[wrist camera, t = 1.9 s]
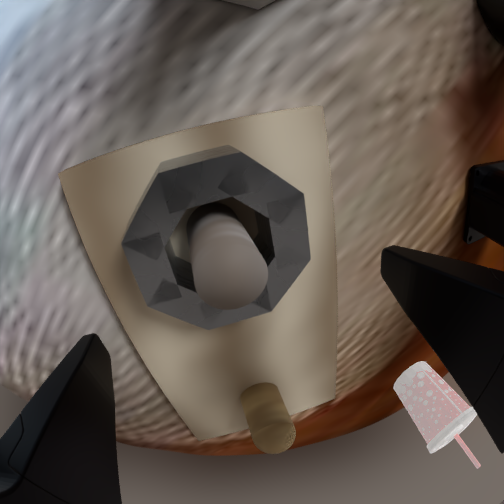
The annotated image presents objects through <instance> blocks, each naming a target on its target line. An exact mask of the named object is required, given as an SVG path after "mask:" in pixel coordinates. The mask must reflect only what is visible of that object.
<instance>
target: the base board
mask: <svg viewBox="0 0 504 504" xmlns="http://www.w3.org/2000/svg"><path fill="white" fill-rule="evenodd" d="M224 145H230V146H232V147H234V148H236V149H237V150H239V151H241V152H243V153H244V154H246V155H247V156H249V157H250V158H252V159H253V160H255V161H257V162H258V163H260V164H261V165H263V166H264V167H266V168H267V169H269V170H270V171H272V172H273V173H275V174H276V175H278V176H279V177H281V178H282V179H283V180H285V181H286V182H288V183H289V184H291V185H292V186H294V187H295V188H297V189H298V190H299V191H301V192H302V193H304V198H305V207H306V216H307V225H308V235H309V245H310V255H311V260H310V261H309V263H308V264H307V265H306V267H305V268H304V269H303V271H302V272H301V273H300V275H299V276H298V277H297V279H296V280H295V281H294V283H293V284H292V285H291V287H290V288H289V289H288V291H287V292H286V293H285V295H284V296H283V297H282V299H281V300H280V301H279V302H278V304H277V305H276V306H275V308H274V309H273V310H272V311H271V312H268V313H265V314H262V315H259V316H255V317H252V318H249V319H245V320H242V321H239V322H235V323H232V324H229V325H225V326H222V327H218V328H215V329H211V330H206V329H204V328H201V327H198V326H196V325H193V324H190V323H188V322H185V321H182V320H180V319H177V318H175V317H172V316H170V315H167V314H164V313H162V312H160V311H157V310H155V309H152V308H150V307H147V304H146V302H145V300H144V298H143V295H142V293H141V291H140V289H139V286H138V284H137V282H136V279H135V277H134V275H133V272H132V270H131V268H130V265H129V263H128V260H127V258H126V255H125V253H124V250H123V248H122V245H121V242H122V239H123V236H124V233H125V231H126V228H127V225H128V222H129V220H130V218H131V216H132V214H133V212H134V210H135V208H136V206H137V204H138V202H139V200H140V198H141V196H142V195H143V193H144V191H145V189H146V187H147V185H148V184H149V182H150V180H151V178H152V176H153V175H154V173H155V171H156V169H157V168H158V166H159V164H160V163H161V162H163V161H166V160H170V159H173V158H177V157H180V156H184V155H188V154H192V153H195V152H199V151H203V150H207V149H211V148H216V147H220V146H224ZM58 175H59V178H60V182H61V185H62V188H63V191H64V194H65V196H66V199H67V202H68V205H69V208H70V211H71V213H72V216H73V219H74V221H75V224H76V226H77V229H78V231H79V234H80V236H81V239H82V241H83V244H84V246H85V248H86V251H87V253H88V255H89V258H90V260H91V262H92V265H93V267H94V269H95V271H96V273H97V275H98V278H99V280H100V282H101V284H102V286H103V288H104V290H105V292H106V294H107V296H108V298H109V300H110V302H111V304H112V306H113V308H114V310H115V312H116V314H117V316H118V318H119V319H120V321H121V323H122V325H123V327H124V329H125V330H126V332H127V334H128V336H129V338H130V339H131V341H132V343H133V345H134V346H135V348H136V350H137V351H138V353H139V355H140V356H141V358H142V360H143V361H144V363H145V365H146V366H147V368H148V369H149V371H150V373H151V374H152V376H153V377H154V379H155V380H156V382H157V383H158V385H159V387H160V388H161V390H162V391H163V393H164V394H165V395H166V397H167V398H168V400H169V401H170V403H171V404H172V406H173V407H174V408H175V410H176V411H177V413H178V414H179V415H180V417H181V418H182V420H183V421H184V422H185V424H186V425H187V426H188V428H189V429H190V430H191V432H192V433H193V434H194V436H195V437H196V438H197V439H198V441H201V440H205V439H210V438H214V437H218V436H222V435H226V434H230V433H234V432H238V431H241V430H245V429H249V430H250V433H251V436H252V439H253V442H254V444H255V445H256V446H257V448H259V449H260V450H261V451H263V452H265V453H269V454H277V453H281V452H284V451H285V450H287V449H288V448H289V447H290V446H291V445H292V444H293V442H294V440H295V436H296V431H295V427H294V425H293V422H292V420H291V418H290V415H293V414H295V413H298V412H301V411H304V410H306V409H309V408H312V407H314V406H317V405H320V404H322V403H325V402H327V401H330V400H332V399H334V398H335V391H336V370H337V329H338V300H337V259H336V237H335V220H334V205H333V192H332V181H331V170H330V160H329V151H328V143H327V134H326V126H325V119H324V112H323V106H308V107H300V108H293V109H286V110H279V111H272V112H266V113H260V114H255V115H249V116H244V117H239V118H234V119H229V120H224V121H219V122H215V123H211V124H206V125H202V126H198V127H194V128H190V129H186V130H182V131H178V132H174V133H171V134H167V135H164V136H160V137H157V138H153V139H150V140H146V141H143V142H140V143H137V144H134V145H131V146H127V147H124V148H121V149H118V150H116V151H113V152H110V153H107V154H104V155H101V156H99V157H96V158H93V159H91V160H88V161H85V162H83V163H80V164H78V165H75V166H73V167H70V168H68V169H65V170H64V171H62V172H60V173H59V174H58ZM257 234H258V228H257V222H256V217H255V212H254V209H252V208H251V207H249V206H247V205H246V204H244V203H242V202H241V201H239V200H237V199H235V198H234V197H229V198H225V199H221V200H218V201H214V202H210V203H206V204H203V205H199V206H195V207H192V208H188V209H186V211H185V212H184V214H183V216H182V217H181V219H180V221H179V223H178V224H177V226H176V228H175V229H174V231H173V233H172V235H171V236H170V241H171V244H172V247H173V250H174V253H175V256H177V257H179V258H181V259H183V260H185V261H187V262H189V263H191V265H192V271H193V277H194V284H195V288H196V291H197V293H198V295H199V297H200V298H201V299H202V300H203V301H204V302H205V303H206V304H208V305H210V306H212V307H214V308H217V309H223V310H232V309H237V308H241V307H244V306H246V305H248V304H250V303H251V302H253V301H254V300H255V299H256V298H257V297H258V296H259V295H260V294H261V293H262V291H263V290H264V288H265V286H266V283H267V280H268V268H267V264H266V262H265V260H264V259H263V257H262V255H261V254H260V252H259V250H258V249H257V247H256V246H255V244H254V242H253V240H254V239H255V237H256V236H257Z"/></svg>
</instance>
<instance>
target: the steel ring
mask: <svg viewBox="0 0 504 504" xmlns="http://www.w3.org/2000/svg"><path fill="white" fill-rule="evenodd" d="M229 197H234V198H235V199H237V200H239V201H241V202H242V203H244V204H246V205H247V206H249V207H251V208H252V209H254V212H255V217H256V222H257V228H258V234H257V236H256V237H255V239H254V240H253V242H254V244H255V246H256V247H257V249H258V250H259V252H260V254H261V255H262V257H263V259H264V260H265V262H266V264H267V268H268V280H267V283H266V286H265V288H264V290H263V291H262V293H261V294H260V295H259V296H258V297H257V298H256V299H255V300H254V301H253V302H251V303H250V304H248V305H246V306H244V307H241V308H237V309H232V310H223V309H217V308H214V307H212V306H210V305H208V304H206V303H205V302H204V301H203V300H202V299H201V298H200V297H199V295H198V293H197V291H196V288H195V284H194V277H193V271H192V265H191V263H189V262H187V261H185V260H183V259H181V258H179V257H177V256H175V253H174V250H173V247H172V244H171V241H170V236H171V235H172V233H173V231H174V229H175V228H176V226H177V224H178V223H179V221H180V219H181V217H182V216H183V214H184V212H185V211H186V209H188V208H192V207H195V206H199V205H203V204H206V203H210V202H214V201H218V200H221V199H225V198H229ZM121 245H122V248H123V250H124V253H125V255H126V258H127V260H128V263H129V265H130V268H131V270H132V272H133V275H134V277H135V279H136V282H137V284H138V286H139V289H140V291H141V293H142V295H143V298H144V300H145V302H146V304H147V307H150V308H152V309H155V310H157V311H160V312H162V313H164V314H167V315H170V316H172V317H175V318H177V319H180V320H182V321H185V322H188V323H190V324H193V325H196V326H198V327H201V328H204V329H206V330H211V329H215V328H218V327H222V326H225V325H229V324H232V323H235V322H239V321H242V320H245V319H249V318H252V317H255V316H259V315H262V314H265V313H268V312H271V311H272V310H273V309H274V308H275V306H276V305H277V304H278V302H279V301H280V300H281V299H282V297H283V296H284V295H285V293H286V292H287V291H288V289H289V288H290V287H291V285H292V284H293V283H294V281H295V280H296V279H297V277H298V276H299V275H300V273H301V272H302V271H303V269H304V268H305V267H306V265H307V264H308V263H309V261H310V260H311V255H310V245H309V235H308V225H307V216H306V207H305V198H304V193H302V192H301V191H299V190H298V189H297V188H295V187H294V186H292V185H291V184H289V183H288V182H286V181H285V180H283V179H282V178H281V177H279V176H278V175H276V174H275V173H273V172H272V171H270V170H269V169H267V168H266V167H264V166H263V165H261V164H260V163H258V162H257V161H255V160H253V159H252V158H250V157H249V156H247V155H246V154H244V153H243V152H241V151H239V150H237V149H236V148H234V147H232V146H230V145H224V146H220V147H216V148H211V149H207V150H203V151H199V152H195V153H192V154H188V155H184V156H180V157H177V158H173V159H170V160H166V161H163V162H161V163H160V164H159V166H158V168H157V169H156V171H155V173H154V175H153V176H152V178H151V180H150V182H149V184H148V185H147V187H146V189H145V191H144V193H143V195H142V196H141V198H140V200H139V202H138V204H137V206H136V208H135V210H134V212H133V214H132V216H131V218H130V220H129V222H128V225H127V228H126V231H125V233H124V236H123V239H122V242H121Z"/></svg>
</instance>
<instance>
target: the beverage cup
mask: <svg viewBox="0 0 504 504" xmlns="http://www.w3.org/2000/svg"><path fill="white" fill-rule="evenodd" d="M393 389H394V390H395V392H396V393H397V395H398V397H399V398H400V400H401V401H402V403H403V405H404V406H405V408H406V409H407V411H408V413H409V414H410V416H411V417H412V419H413V421H414V422H415V424H416V426H417V427H418V429H419V431H420V432H421V434H422V436H423V437H424V439H425V441H426V442H427V444H428V445H427V446H426V447H427V448H428V449H429V452H430V453H434V452H436V451H437V450H439V449H441V448H442V447H444V446H445V445H446V444H448V443H449V442H450V441H452V440H453V439H454V438H455V439H456V440H457V442H458V443H459V444H460V446H461V447H462V448H463V450H464V451H465V453H466V454H467V455H468V457H469V458H470V459H471V461H472V462H473V464H474V465H475V467H476V468H477V469H478V468H479V467H480V466H481V465H480V463H479V462H478V461H477V459H476V458H475V456H474V455H473V454H472V452H471V451H470V450H469V448H468V447H467V446H466V444H465V443H464V442H463V440H462V439H461V437H460V436H459V434H460V433H461V432H462V431H463V430H464V429H465V428H466V427H467V426H468V425H469V424H470V423H471V422H472V421H473V419H474V418H475V417H476V415H477V413H476V412H475V410H474V408H473V407H470V406H469V405H468V404H467V403H466V402H465V401H464V400H463V399H462V398H461V397H460V396H459V395H458V394H457V393H456V392H455V391H454V390H453V389H452V388H451V387H450V386H449V385H448V384H447V383H446V382H445V381H444V380H443V379H442V378H441V377H440V376H439V375H438V374H437V373H436V372H435V371H434V370H433V369H432V368H431V367H430V366H429V365H428V364H427V363H426V362H424V361H421V362H417V363H415V364H414V365H412V366H410V367H409V368H408V369H407V370H406V371H404V372H403V373H402V374H401V375H400V377H399V378H398V379H397V381H396V382H395V384H394V388H393Z"/></svg>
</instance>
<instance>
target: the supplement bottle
mask: <svg viewBox="0 0 504 504" xmlns="http://www.w3.org/2000/svg"><path fill="white" fill-rule="evenodd" d="M477 1H478V4H479V7H480V10H481V13H482V15H483V18H484V20H485V22H486V24H487V26H488V27H489V29H490V31H491V32H492V34H493V35H494V37H495V38H496V39H497V40H498V41H499V42H500V43H501V44H502V45H504V0H477Z"/></svg>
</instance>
